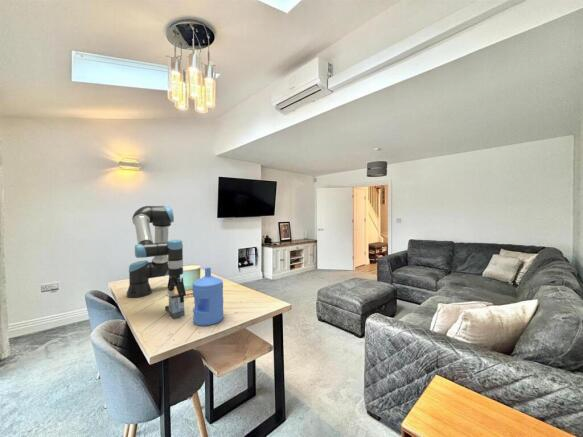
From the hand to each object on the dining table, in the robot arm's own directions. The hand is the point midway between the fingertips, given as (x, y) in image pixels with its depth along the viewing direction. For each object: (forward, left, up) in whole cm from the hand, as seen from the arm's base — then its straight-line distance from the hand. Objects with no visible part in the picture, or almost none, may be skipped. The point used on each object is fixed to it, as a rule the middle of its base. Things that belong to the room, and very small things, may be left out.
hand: (176, 304), depth 136 cm
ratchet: (-5, 0, -6) cm, 8 cm away
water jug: (+18, +10, -6) cm, 22 cm away
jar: (-11, +20, -6) cm, 24 cm away
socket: (0, 0, -3) cm, 3 cm away
